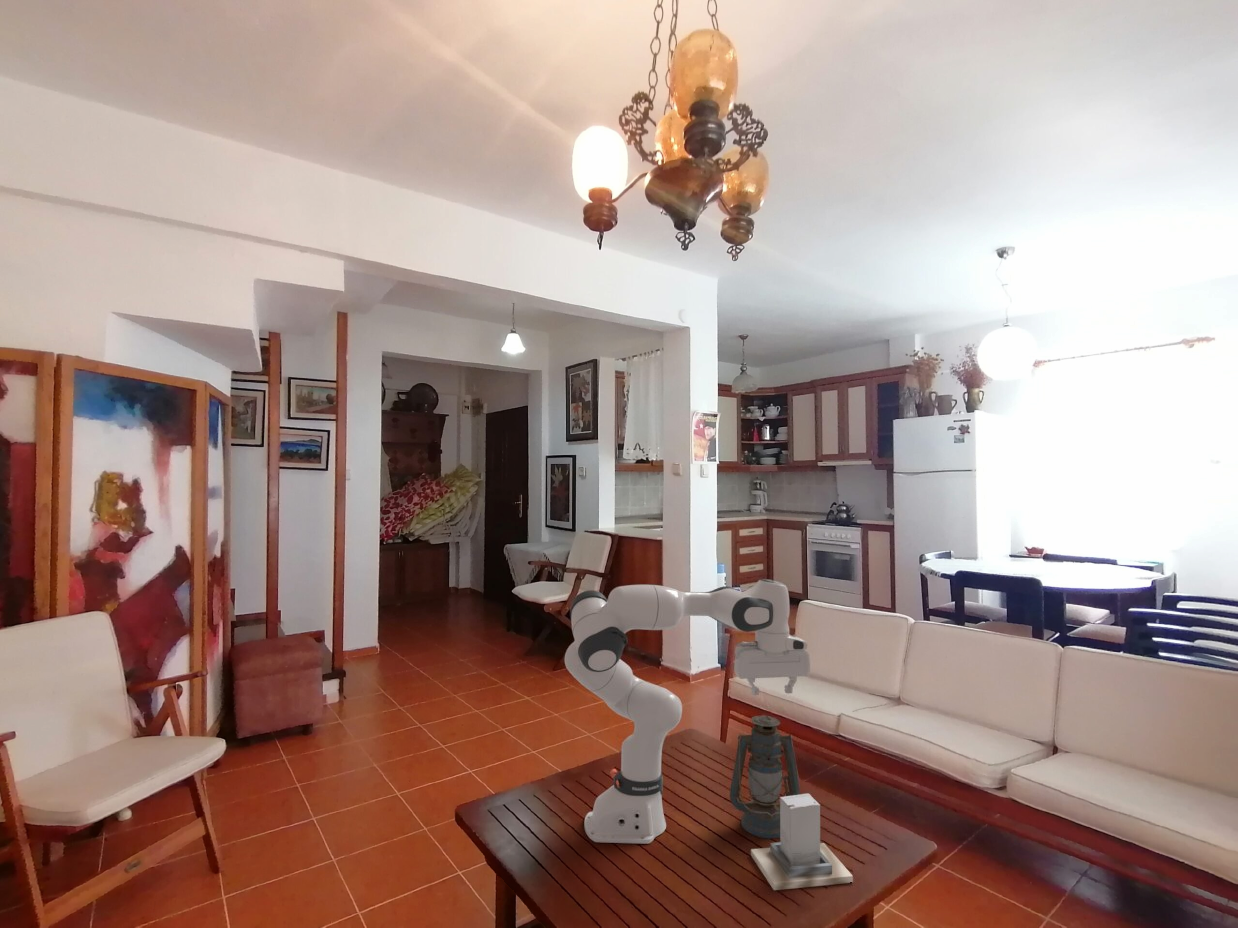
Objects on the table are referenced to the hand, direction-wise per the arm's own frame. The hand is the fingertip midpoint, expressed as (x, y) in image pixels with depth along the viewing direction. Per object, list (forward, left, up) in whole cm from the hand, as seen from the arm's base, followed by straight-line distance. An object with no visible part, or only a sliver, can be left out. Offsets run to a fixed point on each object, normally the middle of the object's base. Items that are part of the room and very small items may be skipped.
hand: (771, 693), depth 166 cm
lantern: (+2, +8, -39) cm, 40 cm away
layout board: (+3, -11, -39) cm, 41 cm away
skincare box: (+3, -10, -38) cm, 39 cm away
